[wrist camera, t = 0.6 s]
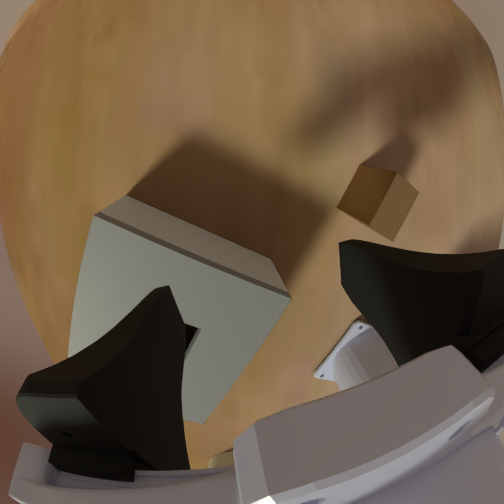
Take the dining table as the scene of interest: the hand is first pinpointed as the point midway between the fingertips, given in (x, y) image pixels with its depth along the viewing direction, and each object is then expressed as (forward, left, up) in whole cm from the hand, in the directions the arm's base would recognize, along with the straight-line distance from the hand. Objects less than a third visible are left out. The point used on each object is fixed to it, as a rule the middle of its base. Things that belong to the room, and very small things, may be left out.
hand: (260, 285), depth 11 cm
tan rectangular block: (-8, -7, -10) cm, 14 cm away
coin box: (+2, +8, -10) cm, 13 cm away
